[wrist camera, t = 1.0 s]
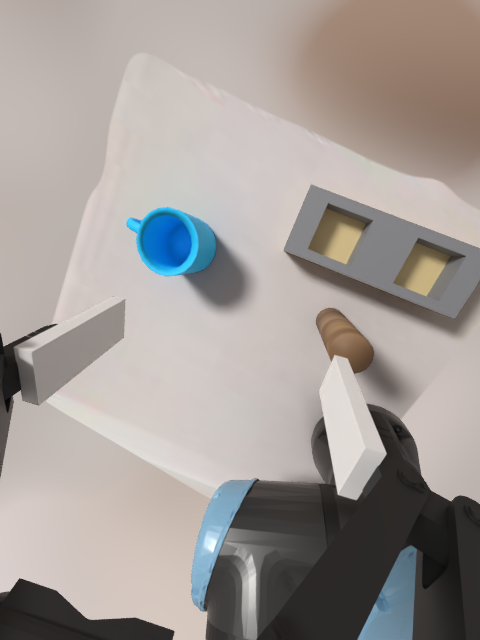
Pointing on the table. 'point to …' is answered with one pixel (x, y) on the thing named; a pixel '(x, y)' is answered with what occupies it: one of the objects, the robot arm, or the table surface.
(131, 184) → the table surface
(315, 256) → the rail
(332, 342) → the peg
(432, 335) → the table surface
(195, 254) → the mug
